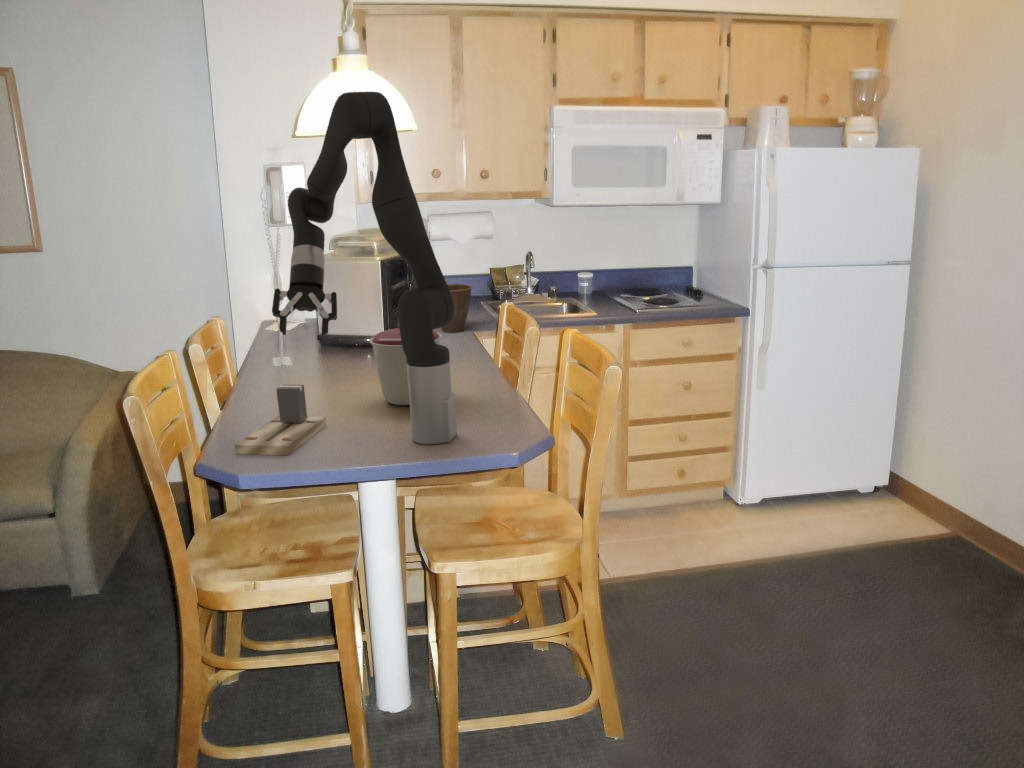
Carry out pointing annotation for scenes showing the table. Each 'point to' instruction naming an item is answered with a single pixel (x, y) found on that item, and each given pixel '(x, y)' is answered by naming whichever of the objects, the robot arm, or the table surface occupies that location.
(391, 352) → the canister
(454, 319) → the plant pot
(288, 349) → the table surface
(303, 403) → the fader knob
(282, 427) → the fader panel
